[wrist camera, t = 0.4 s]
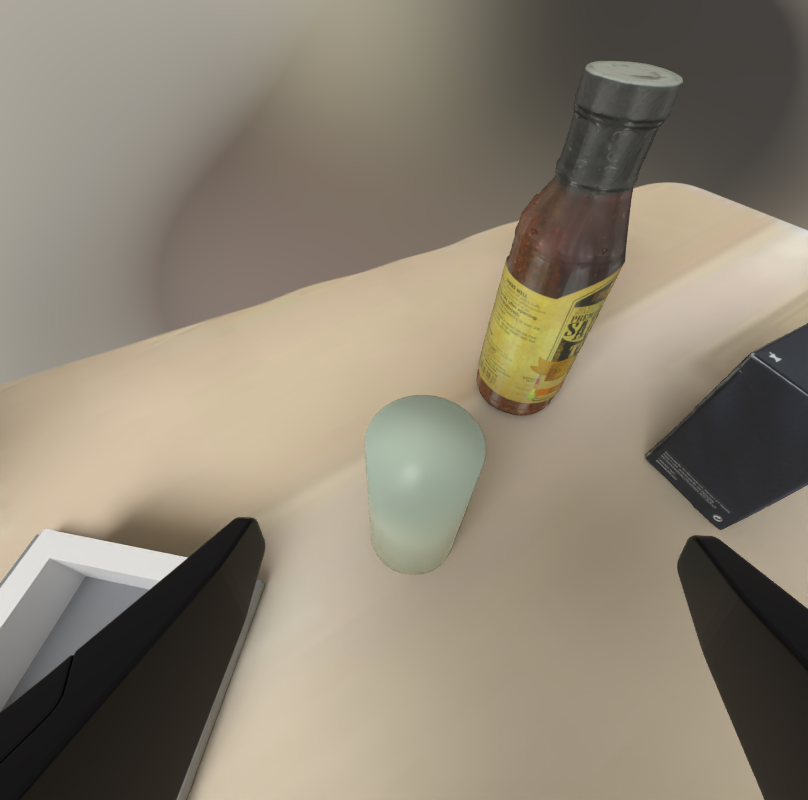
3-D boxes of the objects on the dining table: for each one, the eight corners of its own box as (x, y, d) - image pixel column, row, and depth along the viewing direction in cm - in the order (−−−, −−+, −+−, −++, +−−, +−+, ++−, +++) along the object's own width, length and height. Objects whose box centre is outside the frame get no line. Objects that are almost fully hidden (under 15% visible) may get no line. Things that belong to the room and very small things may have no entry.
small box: (723, 539, 25) (885, 450, 17) (639, 457, 29) (742, 350, 21) (816, 468, 29) (989, 366, 21) (732, 403, 32) (852, 293, 24)
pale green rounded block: (449, 582, 23) (482, 508, 15) (362, 565, 24) (351, 485, 16) (457, 500, 26) (488, 404, 18) (380, 486, 27) (379, 387, 19)
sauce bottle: (540, 432, 30) (713, 110, 14) (461, 398, 31) (537, 77, 16) (563, 374, 33) (720, 67, 18) (491, 346, 35) (577, 44, 20)
